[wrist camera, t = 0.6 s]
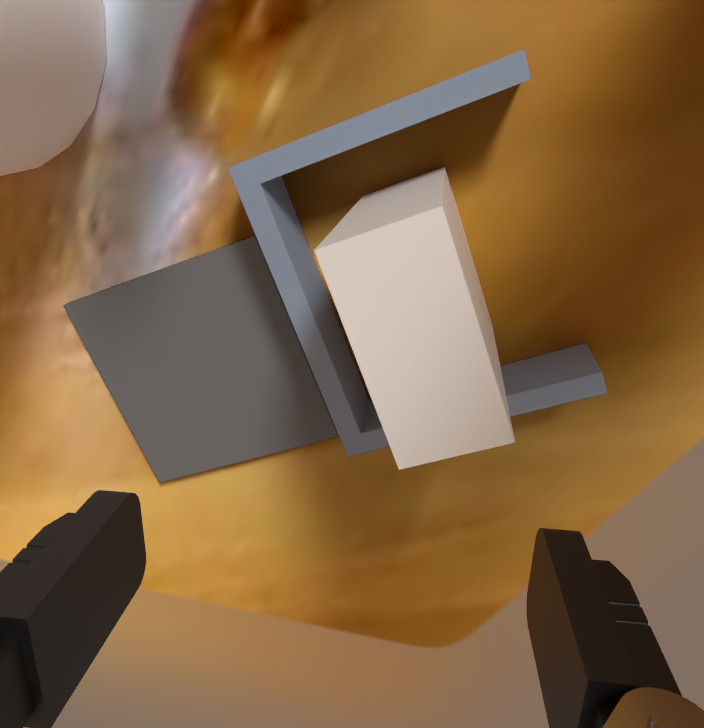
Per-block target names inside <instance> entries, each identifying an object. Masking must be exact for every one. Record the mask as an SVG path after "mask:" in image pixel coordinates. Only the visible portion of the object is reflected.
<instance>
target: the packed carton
mask: <svg viewBox="0 0 704 728" xmlns="http://www.w3.org/2000/svg"><path fill="white" fill-rule="evenodd" d="M314 251H315V254H316V257H317V259H318V262H319V264H320V267H321V270H322V272H323V275H324V277H325V280H326V282H327V285H328V288H329V290H330V293H331V295H332V298H333V301H334V303H335V306H336V308H337V311H338V313H339V316H340V319H341V321H342V324H343V326H344V329H345V332H346V334H347V337H348V339H349V342H350V345H351V347H352V350H353V352H354V355H355V357H356V360H357V363H358V365H359V368H360V370H361V373H362V376H363V378H364V381H365V383H366V386H367V388H368V391H369V394H370V396H371V399H372V401H373V404H374V407H375V409H376V412H377V414H378V417H379V419H380V422H381V425H382V427H383V430H384V432H385V435H386V438H387V440H388V443H389V445H390V448H391V450H392V453H393V456H394V458H395V461H396V463H397V466H398V469H399V470H400V469H405V468H409V467H413V466H417V465H422V464H426V463H430V462H435V461H439V460H443V459H447V458H452V457H456V456H460V455H464V454H469V453H473V452H477V451H481V450H486V449H490V448H494V447H498V446H503V445H507V444H511V443H515V439H514V434H513V429H512V423H511V418H510V413H509V408H508V403H507V398H506V393H505V388H504V382H503V377H502V372H501V367H500V362H499V357H498V352H497V347H496V341H495V336H494V331H493V326H492V322H491V319H490V316H489V312H488V309H487V306H486V302H485V299H484V296H483V292H482V289H481V286H480V282H479V279H478V276H477V272H476V269H475V266H474V262H473V259H472V256H471V252H470V249H469V246H468V242H467V239H466V236H465V232H464V229H463V226H462V222H461V219H460V216H459V212H458V209H457V206H456V202H455V199H454V196H453V192H452V189H451V186H450V182H449V179H448V176H447V172H446V169H445V166H444V167H442V168H439V169H436V170H433V171H431V172H428V173H425V174H422V175H420V176H417V177H414V178H411V179H409V180H406V181H403V182H400V183H398V184H395V185H392V186H389V187H387V188H384V189H381V190H378V191H376V192H373V193H370V194H367V195H364V196H362V197H361V199H360V200H359V201H358V202H357V203H356V204H355V205H354V206H353V208H352V209H351V210H350V211H349V212H348V213H347V214H346V215H345V216H344V218H343V219H342V220H341V221H340V222H339V223H338V224H337V225H336V226H335V228H334V229H333V230H332V231H331V232H330V233H329V234H328V235H327V236H326V238H325V239H324V240H323V241H322V242H321V243H320V244H319V245H318V247H317V248H316V249H315V250H314Z"/></svg>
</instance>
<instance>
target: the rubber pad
mask: <svg viewBox="0 0 704 728" xmlns="http://www.w3.org/2000/svg"><path fill="white" fill-rule="evenodd" d="M64 308H65V310H66V312H67V314H68V315H69V317H70V319H71V321H72V323H73V325H74V326H75V328H76V330H77V332H78V334H79V336H80V337H81V339H82V341H83V343H84V345H85V347H86V349H87V350H88V352H89V354H90V356H91V358H92V360H93V361H94V363H95V365H96V367H97V369H98V371H99V372H100V374H101V376H102V378H103V380H104V382H105V383H106V385H107V387H108V389H109V391H110V393H111V395H112V396H113V398H114V400H115V402H116V404H117V406H118V407H119V409H120V411H121V413H122V415H123V417H124V418H125V420H126V422H127V424H128V426H129V428H130V429H131V431H132V433H133V435H134V437H135V439H136V441H137V442H138V444H139V446H140V448H141V450H142V452H143V453H144V455H145V457H146V459H147V461H148V463H149V464H150V466H151V468H152V470H153V472H154V474H155V476H156V477H157V479H158V481H159V483H160V482H164V481H167V480H171V479H175V478H179V477H183V476H187V475H191V474H195V473H199V472H203V471H206V470H210V469H214V468H218V467H222V466H226V465H230V464H234V463H238V462H242V461H245V460H249V459H253V458H257V457H261V456H265V455H269V454H273V453H277V452H280V451H284V450H288V449H292V448H296V447H300V446H304V445H308V444H312V443H316V442H319V441H323V440H327V439H331V438H335V437H338V436H339V434H338V432H337V430H336V427H335V425H334V422H333V420H332V418H331V415H330V413H329V410H328V408H327V406H326V403H325V401H324V398H323V396H322V394H321V391H320V389H319V386H318V384H317V381H316V379H315V377H314V374H313V372H312V369H311V367H310V365H309V362H308V360H307V357H306V355H305V353H304V350H303V348H302V345H301V343H300V341H299V338H298V336H297V333H296V331H295V329H294V326H293V324H292V321H291V319H290V317H289V314H288V312H287V309H286V307H285V305H284V302H283V300H282V297H281V295H280V293H279V290H278V288H277V285H276V283H275V280H274V278H273V276H272V273H271V271H270V268H269V266H268V264H267V261H266V259H265V256H264V254H263V252H262V249H261V247H260V244H259V242H258V240H257V237H256V235H254V236H252V237H249V238H246V239H243V240H241V241H238V242H235V243H232V244H229V245H227V246H224V247H221V248H218V249H216V250H213V251H210V252H207V253H205V254H202V255H199V256H196V257H194V258H191V259H188V260H185V261H183V262H180V263H177V264H174V265H172V266H169V267H166V268H163V269H160V270H158V271H155V272H152V273H149V274H147V275H144V276H141V277H138V278H136V279H133V280H130V281H127V282H125V283H122V284H119V285H116V286H114V287H111V288H108V289H105V290H103V291H100V292H97V293H94V294H92V295H89V296H86V297H83V298H80V299H78V300H75V301H72V302H69V303H67V304H65V305H64Z"/></svg>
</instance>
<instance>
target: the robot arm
mask: <svg viewBox="0 0 704 728" xmlns="http://www.w3.org/2000/svg"><path fill="white" fill-rule="evenodd" d="M145 566H146V551H145V542H144V534H143V525H142V516H141V508H140V501H139V498H138V496H137V495H136V494H135V493H126V492H114V491H102V490H99V491H96V492H95V493H94V494H93V495H92V496H91V497H90V498H89V499H88V500H87V501H86V502H85V503H84V504H83V505H82V507H81V508H80V509H79V510H78V511H77V512H76V513H67V514H65V515H63V516H62V517H60V518H58V519H57V520H55V521H53V522H52V523H50V524H48V525H47V526H45V527H43V529H42V530H41V531H40V532H39V533H38V534H37V535H36V536H35V537H34V538H33V539H32V540H31V541H30V542H29V543H28V544H27V547H26V548H23V549H22V550H21V551H20V552H19V553H18V554H17V556H16V557H15V558H14V559H13V562H12V563H9V564H8V565H7V566H6V567H5V568H4V569H3V570H2V571H1V572H0V728H23V727H30V728H51V727H52V725H53V724H54V722H55V720H56V719H57V717H58V716H59V714H60V713H61V711H62V709H63V707H64V706H65V704H66V703H67V701H68V700H69V698H70V697H71V695H72V693H73V692H74V690H75V689H76V687H77V686H78V684H79V682H80V681H81V679H82V678H83V676H84V674H85V673H86V671H87V670H88V668H89V666H90V664H91V663H92V662H93V660H94V658H95V657H96V655H97V654H98V652H99V650H100V649H101V647H102V646H103V644H104V642H105V641H106V639H107V638H108V636H109V634H110V633H111V631H112V629H113V628H114V626H115V625H116V623H117V622H118V620H119V618H120V617H121V615H122V614H123V612H124V610H125V609H126V607H127V606H128V604H129V603H130V601H131V599H132V598H133V596H134V595H135V593H136V591H137V590H138V588H139V586H140V584H141V582H142V579H143V576H144V572H145ZM639 604H640V603H639V601H638V599H637V596H636V594H635V592H634V590H633V588H632V585H631V583H630V581H629V580H628V579H627V578H626V577H625V576H624V575H623V574H622V573H621V572H620V571H619V570H618V569H617V568H616V567H615V566H614V565H613V564H612V563H610V561H603V560H592V559H591V556H590V554H589V551H588V549H587V546H586V544H585V541H584V539H583V536H582V534H581V533H580V532H579V531H569V530H557V529H545V528H539V530H538V532H537V535H536V540H535V546H534V553H533V559H532V566H531V572H530V579H529V585H528V592H527V622H528V628H529V633H530V638H531V643H532V647H533V651H534V657H535V661H536V666H537V671H538V676H539V680H540V686H541V690H542V695H543V699H544V705H545V709H546V714H547V719H548V723H549V728H704V711H703V710H702V709H701V708H699V707H698V706H697V705H696V704H694V703H692V702H691V701H689V700H688V699H686V698H684V697H682V695H681V692H680V690H679V688H678V686H677V684H676V682H675V679H674V677H673V675H672V673H671V671H670V668H669V666H668V664H667V662H666V660H665V657H664V655H663V653H662V651H661V649H660V646H659V644H658V642H657V640H656V638H655V636H654V633H653V632H652V629H651V627H650V626H648V620H647V618H646V616H645V614H644V612H643V609H642V608H641V607H640V606H639Z"/></svg>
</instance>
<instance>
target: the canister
mask: <svg viewBox="0 0 704 728" xmlns="http://www.w3.org/2000/svg"><path fill="white" fill-rule="evenodd" d="M106 63H107V57H106V30H105V6H104V3H103V0H0V176H3V175H7V174H12V173H17V172H21V171H26V170H31V169H35V168H39V167H41V166H42V165H44V164H45V163H46V162H48V161H49V160H51V159H52V158H54V157H55V156H57V155H58V154H59V153H61V152H62V151H64V150H65V149H67V148H68V147H69V146H71V145H72V143H73V142H74V140H75V139H76V137H77V136H78V134H79V133H80V131H81V130H82V128H83V127H84V125H85V123H86V122H87V120H88V119H89V117H90V116H91V114H92V113H93V111H94V110H95V106H96V102H97V98H98V94H99V91H100V87H101V83H102V79H103V75H104V71H105V67H106Z"/></svg>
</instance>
